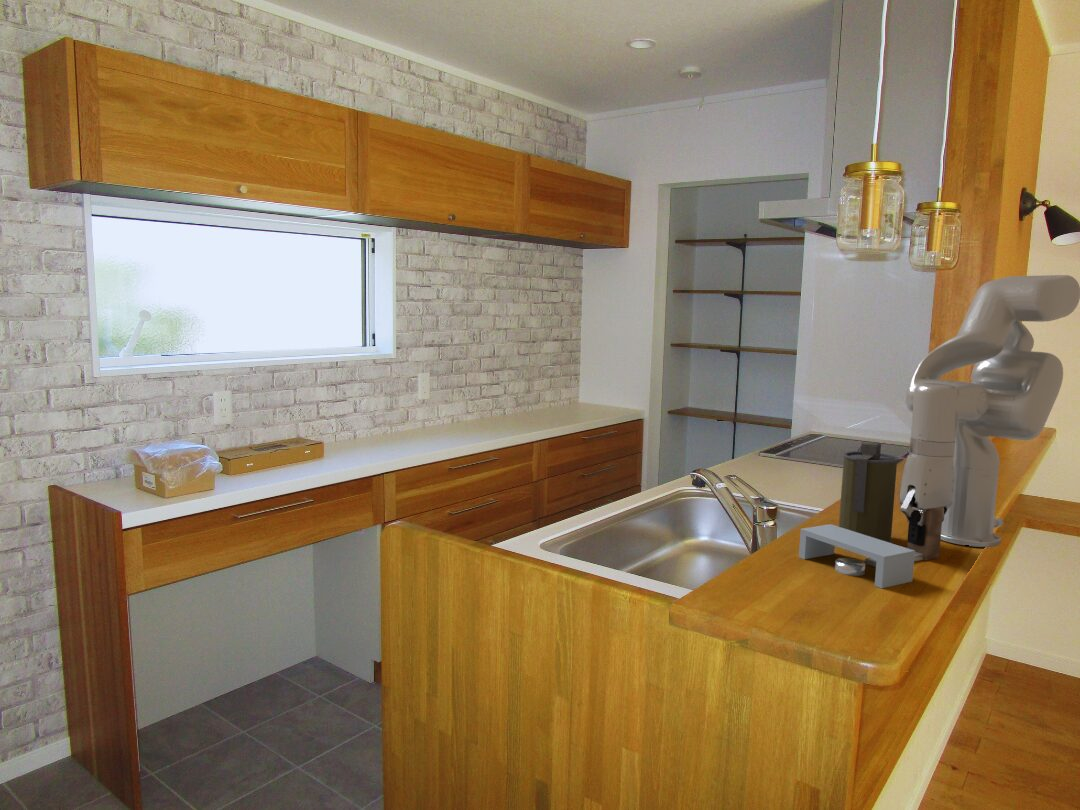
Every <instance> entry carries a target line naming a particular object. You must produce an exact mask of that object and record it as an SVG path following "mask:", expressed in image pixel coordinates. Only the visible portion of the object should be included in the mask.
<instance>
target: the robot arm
mask: <svg viewBox="0 0 1080 810" xmlns="http://www.w3.org/2000/svg"><path fill="white" fill-rule="evenodd" d="M1079 302H1080V284H1079V282H1078V281H1077V279H1076V278H1075V277H1074V276H1072V275H1068V274H1056V275H1054V274H1053V275H1052V274H1051V275H1049V274H1048V275H1047V274H1046V275H1013V276H1005V277H1000V278H997V279H994V280H991V281H987V282H985V283H983V284H982V285H981V286H980V287H979V288H977V291H976V292H975V294H974V296H973V298H972V301H971V303H970V306H969V307H968V310H967V312H966V314H965V317H964V319H963V321H962V323H961V325H960V328H959V330H958V332H957V334H956V335H955V336H953V337H951V338H950V339H948V340H946V341H945V342H942V343H941V344H940V345H938V346H937V347H936V348H934V349H933V350H931V351H930V352H928V353H927V354H926V355H925V356H924V357H923V358H922V359H921V360H920V362H919V363H918V364H917V366H916V368H915V370H914V372H913V375H912V377H911V379H910V381H909V384H908V387H907V389H906V393H905V405H906V408H907V409H908V411H909V412H911V413H912V415H911V416H912V418H911V427H910V429H911V430H910V439H909V440H910V441H909V451H908V452H909V453H908V455H907V456H906V459H905V462H904V466H903V470H902V476H901V482H900V487H899V497H898V498H899V499H898V500H899V501H898V502H899V504H900V505H901V506H900V509H899V510H900V511H901V512H902V513H903V514H904V516H905V517H906V522H907V523H908V528H907V539H906V541H907V542H909V543H912V544H915V545H919V546H924V543H925V531H926V526H925V525H923V524H924V520H925V516H926V511H927V510H928V509H930V508H937V507H943V516H942V527H941V538H940V541H943V542H948V543H950V544H951V543H952V544H956V545H960V546H965V545H969V546H968V547H974V548H976V547H977V548H992V547H997V546H999V545H1001V543H1002V539H1001V537H1000V535H998V534H996V533H994V529H995V528H998V527H1002V526H1003V524H1004V520H1003V519H1002V517H995V513H996V501H997V494H998V493H997V492H998V491H997V490H998V482H999V470H1000V456H999V455H1000V454H999V452H998V450H997V448H996V446H995V444H994V443H993V441H992V440H991V437H992V438H993V437H995V438H1000V439H1001V438H1003V439H1009V440H1019V441H1030V440H1034V439H1036V438H1037V437H1038V436H1039V435H1040V434H1041V433H1042V431H1043V429H1044V427H1045V426H1046V423H1047V421H1048V418H1049V416H1050V414H1051V412H1052V409H1053V407H1054V404H1055V403H1056V400H1057V398H1058V395H1059V392H1060V390H1061V388H1062V384H1063V379H1064V368H1063V367H1064V366H1063V364H1062V361H1061V359H1059V357H1058V356H1056V355H1055V354H1053V353H1051V352H1044V351H1032V350H1033V348H1034V345H1035V340H1034V337H1033V335H1032V333H1031V332H1030V330H1029V329H1028V328H1027V326H1026V325H1025V324H1024V323H1022V322H1037V323H1038V322H1041V323H1042V322H1053V321H1055V320H1059V319H1062V318H1066V317H1068V316H1069V315H1071V314H1072V313H1073V312H1074V311H1075V310H1076V309H1077V307H1078V305H1079ZM971 365H973V368H972V370H971V374H970V382H969V381H955V380H948V379H946V380H945V379H941V378H942V377H943V376H944V375H946V374H948V373H950V372H953V371H954V370H956V369H957V370H958V369H960V368H962V367H963V368H964V367H967V366H971ZM916 504H918V506H917V507H915V505H916ZM915 510H916V511H920V513H919V516H918V514H917V513H916V512H915Z"/></svg>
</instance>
